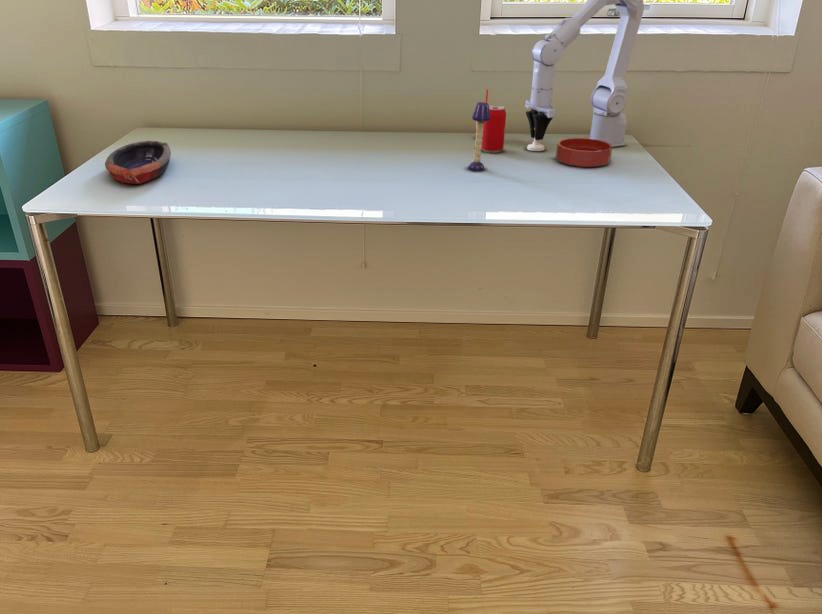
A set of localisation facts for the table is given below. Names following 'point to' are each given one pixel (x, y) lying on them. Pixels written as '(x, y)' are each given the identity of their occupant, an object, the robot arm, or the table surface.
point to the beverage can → (494, 130)
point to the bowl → (583, 152)
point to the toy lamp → (479, 133)
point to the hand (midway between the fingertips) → (536, 138)
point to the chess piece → (535, 146)
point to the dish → (138, 161)
